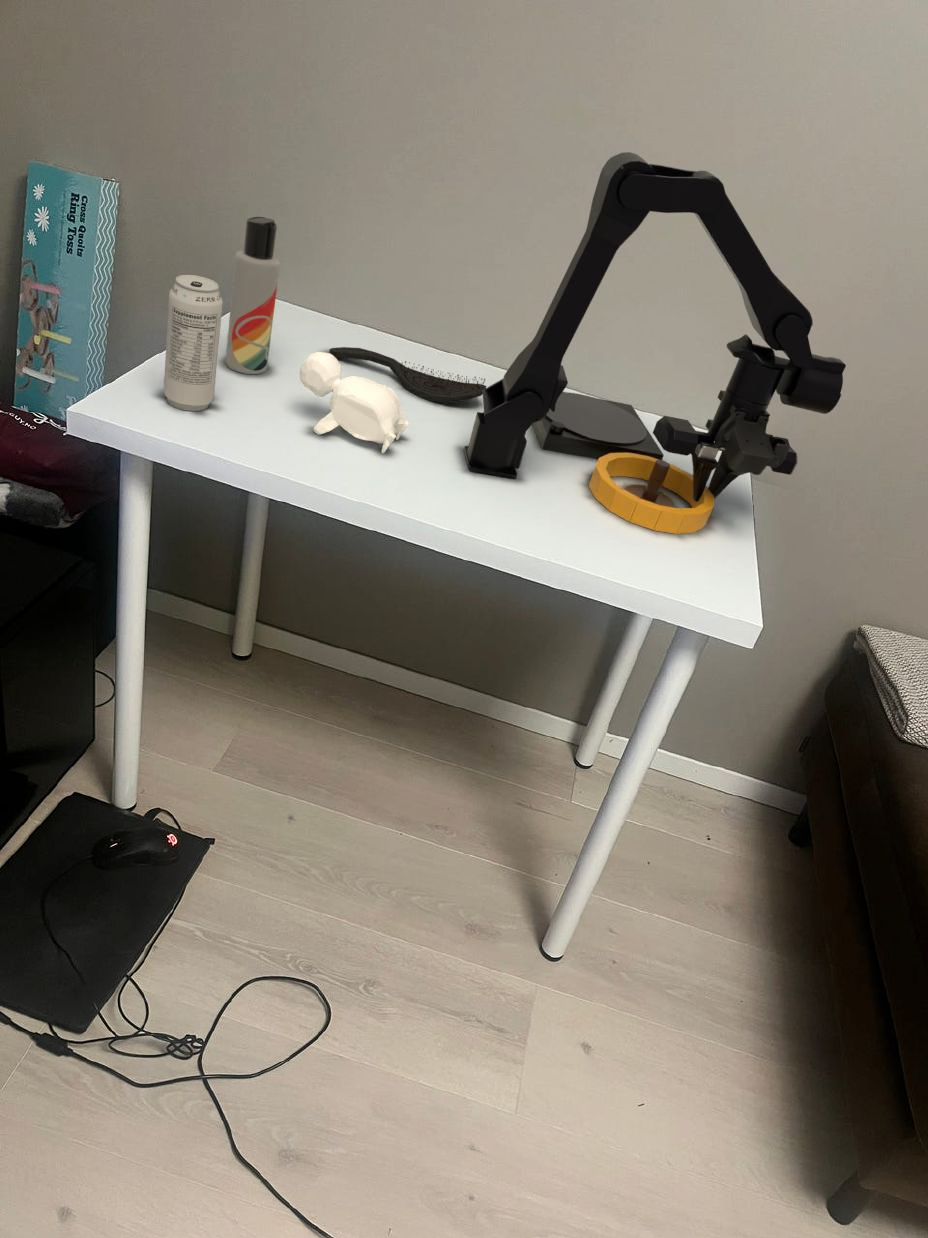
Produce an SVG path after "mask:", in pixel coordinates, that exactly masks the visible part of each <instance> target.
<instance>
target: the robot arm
mask: <svg viewBox="0 0 928 1238" xmlns="http://www.w3.org/2000/svg"><path fill="white" fill-rule="evenodd" d="M599 173H600V174H599V176H598V180H597V183H596V186H595V191H594V194H593V197H592V201H591V206H590V211H589V216H588V220H587V224H586V225H587V226H586V228H585V231H584V234H583V236H582V238H581V240H580V242H579V244H578V246H577V249H576V251H575V253H574V255H573V257H572V258H571V261H570V263H569V265H568V267H567V269H566V271H565V274H564V275H563V278H562V279H561V281H560V284H559V286H558V288H557V290H556V292H555V294H554V296H553V298H552V301H551V302H550V305H549V307H548V309H547V311H546V313H545V315H544V317H543V319H542V321H541V322H540V323H541V324H540V326H539V327H538V329H537V331H536V334H535V336H534V337H533V339H532V340H531V342H529V343H528V344H527V345H526V346H525V347H524V348H523V349H522V351H521V352H520V353H519V354H518V355H517V356H516V358H515V359H514V361H513V362H512V363H511V365H510V366H509V367H508V369H507V370H506V371H505V373H504V375H503V378H501V379H499V380H498V381H496V382H494V383H493V384H490V385H489V386H488V387H487V386H486V389H484V390H483V391H482V395H481V396H482V404H483V412H480V411H477V412H476V415H475V419H474V423H473V426H472V430H471V433H470V438H469V442H468V445H465V446H464V448H463V452H464V456H465V459H466V460H465V461H466V463H467V467H468V470H469V471H472V472H476V473H482V474H487V475H493V476H499V477H505V478H511V479H516V478H517V477H518V471H517V470H518V469H519V468H520V467H521V463H522V460H523V457H524V453H525V451H526V447H527V443H528V440H527V438H526V434H527V431H528V430H529V429H530V427H531V426H532V423H534V422H537V421H541V420H542V419H543V418H544V417H545V416H546V415H547V413H548V412H549V409H551V410H552V412H554V411H555V405H556V402H557V399H558V398H559V396H560V395H561V393H562V392H565V389H566V387H567V386H568V383H569V381H568V377H567V374H566V371H565V368H564V365H562V362H563V359H564V357H565V355H566V352H567V351H568V348H569V346H570V344H571V343H572V340H573V339H574V336H575V335H576V333H577V331H578V329H579V326H580V325H581V323H582V321H583V319H584V316H585V315H586V313H587V311H588V309H589V307H590V305H591V303H592V301H593V300H594V297H595V296H596V293H597V291H598V289H599V287H600V285H601V284H602V281H603V280H604V278H605V274H606V273H607V272H608V270H609V267H610V265H611V263H612V261H613V259H614V258H615V255H616V254H617V252H618V250H619V249H620V247H621V246H623V244H624V243H625V242H626V241H627V240H628V239H629V238H630V237H632V235H633V234H634V233H635V232H636V231H637V230H638V229H639V227H640V225H642V223H643V221H644V220H645V219H646V218H647V216H648V215H649V213H650V212H653V213H654V212H655V213H661V214H662V213H663V214H679V213H680V214H683V213H690V214H694V215H695V217H696V219H697V220H698V222H699V223H700V225H701V227H702V228H703V230H704V231H705V233H706V235H707V236H708V238H709V239H710V241H711V243H712V244H713V246H714V247H715V249H716V251H717V253H718V254H719V255H720V257H721V259H722V260H723V262H724V263H725V265H726V267H727V268H728V270H729V272H730V273H731V275H732V276H733V278H734V280H735V281H736V283H737V285H738V287H739V290H740V293H741V297H742V300H743V305H744V306H745V307H744V309H746V312H747V316H748V318H749V321H750V324H751V326H752V328H753V330H754V331H755V332H756V333H757V334H758V335H759V336H760V337H761V339H762V340H763V341H764V342H765V343H766V345H767V346H765V345H761V344H758V343H753V340H752V339H751V338H750V336H749V335H748V334H743V336H741V337H739V338H737V339H734V340H732V341H729V342H727V343H726V349H727V350H728V352H730V354H731V355H732V356H733V358H737V359H738V360H737V362H736V364H735V368H734V370H733V372H732V374H731V377H730V379H729V381H728V384H727V386H726V388H725V390H723V389H720V390H719V393H718V395H717V399H718V400H719V401H720V402H719V404H718V407H717V409H716V412H715V414H714V416H713V418H712V419H711V418H710V419H709V418H708V419H707V421H706V424H705V428H706V429H707V430H708V431H707V432H705V431H700V430H696V429H695V428H694V427H693V425H692V423H690V421H689V420H688V419H685V418H680V417H674V416H669V415H663V416H662V417H661V418H660V419H658V420H657V421H656V423H655V426H654V428H653V430H652V434H653V436H654V437H655V439H656V440H657V442H658V443H659V445H660V446H661V448H662V450H663V451H665V452H667V453H669V454H675V455H681V456H685V457H686V456H687V457H688V456H690V455H691V460H692V462H691V463H692V475H693V499H694V500H695V501H696V502H698V501H699V499H700V498H701V496H702V494H703V492H704V489H705V487H706V486H707V484H708V482H709V479H710V477H711V479H710V482H709V484H708V486H707V487H708V489H709V490H710V492H711V493H712V495H713V496H714V500H716V498H717V497H718V496H719V495H721V493H723V491H724V490H725V489H726V488H727V487H728V486H729V485H730V484H731V483H733V482H734V481H735V480H736V479H737V478H738V477H740V476H742V475H745V474H752V475H755V476H759V475H761V474H762V473H763V472H764V470H765V469H766V468H767V467H769V468H770V470H771V471H772V472H773V473H778V474H784V475H788V476H789V475H790V476H791V475H792V474H793V473H794V471H795V468H796V467H797V464H798V461H799V459H798V453H797V452H796V451H795V450H794V448H792V446H791V444H790V442H789V441H790V440H789V439H788V438H786V437H782V436H774V435H773V434H769V433H767V426H768V423H769V421H770V417H771V414H770V413H769V412H768V408H769V405H770V404H771V401H772V399H773V397H774V394H775V392H776V394H777V395H779V401H780V402H781V404H782V405H784V406H785V405H786V406H788V407H789V406H790V407H793V408H798V409H802V410H806V411H811V412H815V413H818V414H821V415H822V414H823V415H827V414H829V413H830V412H832V411H833V410H834V408H835V407H836V406H837V405H838V403H839V401H840V399H841V398H842V393H841V392H842V389H843V384H844V376H843V375H844V374H843V373H844V371H845V369H846V367H847V366H846V363H844V361H843V360H842V359H840V358H836V357H833V356H832V357H831V356H827V357H826V356H822V355H819V354H815V353H812V349H811V344H810V340H809V334H810V332H811V329H812V327H813V325H814V324H813V323H814V322H813V321H814V320H813V317H812V314H811V311H809V309H808V308H807V307H806V306H805V305H804V304H803V303H802V302H801V300H800V299H798V298H797V296H796V295H795V294H794V293H793V292H792V291H791V290H790V289H789V288H788V287H787V286H786V284H784V283H783V282H782V281H781V280H780V278H779V277H778V276H777V275H776V274H775V273H774V272H773V270H772V268H771V267H770V265H769V264H768V262H767V260H766V259H765V257H764V255H763V254H762V252H761V251H760V249H759V247H758V245H757V243H756V241H755V240H754V239H753V237H752V235H751V234H750V232H749V230H748V228H747V227H746V225H745V223H744V222H743V220H742V218H741V216H740V215H739V213H738V212H737V210H736V208H735V206H734V205H733V203H732V202H731V200H730V198H729V197H728V195H727V193H726V189H725V186H724V183H723V182H722V181H721V180H720V179H719V177H717V176H716V175H714V174H712V172H709V171H707V170H689V169H683V168H677V167H671V166H668V165H667V166H666V165H661V164H655V163H648V162H647V161H646V160H645V159H644V158H642V157H641V156H640V155H638V154H637V153H634V152H630V151H627V152H626V151H625V152H620V153H618V154H616V155H615V154H614V155H613V156H611V157H610V158H608V159H607V161H606V162H605V164H604V165H603V166H602V168H601V170H600V172H599ZM768 346H769V347H768ZM776 351H777V352H778V351H779V352H783V354H785V355H786V357H787V358H784V357H781V356H777V355H776V353H775V352H776ZM719 451H720V454H719V456H718V453H719ZM717 456H718V459H716V458H717ZM712 472H713V473H712ZM711 475H712V476H711Z"/></svg>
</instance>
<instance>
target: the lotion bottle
mask: <svg viewBox="0 0 928 1238" xmlns="http://www.w3.org/2000/svg"><path fill="white" fill-rule="evenodd" d="M277 228H278V227H277V224H276V223H275V219H272V218H269V217H264V216H252V217H249V218H247V219H246V224H245V233H244V234H245V236H244V245H243V249H241V250H238V251H237V252H236V254H235V259H234V269H233V278H232V288H231V298H230V310H229V318H228V319H229V320H228V330H227V339H226V349H225V350H226V352H225V365H226V366H227V367H228V368H229V369H231V370H233V371H234V372H238V373H241V374H245V375H246V374H247V375H261V374H263V373H265V372H266V370H267V368H268V362H269V355H270V347H271V341H272V340H271V339H272V331H273V323H274V317H275V308H276V299H277V298H276V297H277V291H278V282H279V273H280V265H281V263H280V260H279V258H278V257H276V256H274V253H275V244H276V237H277Z"/></svg>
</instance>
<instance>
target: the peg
mask: <svg viewBox="0 0 928 1238" xmlns="http://www.w3.org/2000/svg"><path fill="white" fill-rule="evenodd" d="M669 463H670V462H667V461H665V460H663V459H662V460H656V462H655V464H654V467H653V469H652V472H651V474H650V477H649V479H648V480H647V482H646V484H645V485H643V484H629V485H626V486H625V487H624V488H623V489H624V490H626V491H628V492H630V493H631V494H633V495H635V496H637V497H639V498H641V499H643V500H646V501H649V502H652V503H655V504H658V505H661V506H667V507H672V508H675V504H674V502H673V500H672V499H671V497H669V496H668V495H667V494H665V493H664V492H662V491H661V489H662V487H663V486H662V485H663V482H664V480H665V477H666V475H667V472H668V470H669V468H670V464H671V463H670V464H669Z"/></svg>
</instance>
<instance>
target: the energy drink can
mask: <svg viewBox="0 0 928 1238" xmlns="http://www.w3.org/2000/svg"><path fill="white" fill-rule="evenodd" d="M219 288H220V286H219V284H218V283H217V282H216V281H214V280H212V279H211V278H207V277H204V276H201V275H200V276H199V275H194V274H193V275H192V274H181V275H177V276H176V277H175V283H174V285H172V287H171V288H170V290H169V292H168V294H169V296H168V308H167V309H168V310H167V325H166V327H167V328H166V341H165V342H166V343H165V361H164V376H163V377H164V378H163V395H164V396H165V397H166V398H167V402H168V403H169V404H170V406H172V407H175V408H177V409H180V410H182V411H187V412H188V411H189V412H199V411H200V412H201V411H204V410H206V409H208V407H209V405H210V404H211V403H213V402H214V399H215V390H216V389H215V388H216V379H217V369H218V359H219V358H218V357H219V347H220V335H221V325H222V313H223V304H224V303H223V298H222V296H221V293H220V291H219Z"/></svg>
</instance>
